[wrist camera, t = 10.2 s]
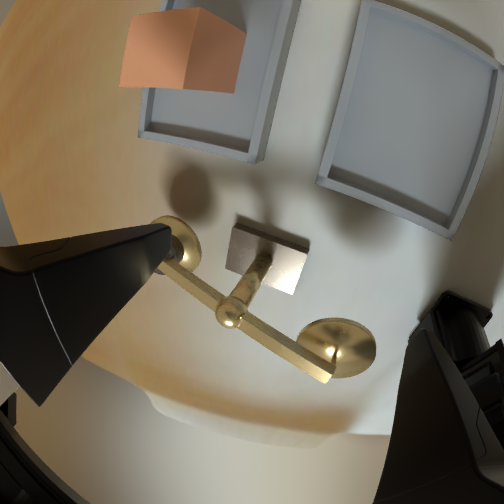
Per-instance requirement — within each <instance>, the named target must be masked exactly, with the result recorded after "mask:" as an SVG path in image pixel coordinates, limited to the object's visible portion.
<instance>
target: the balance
mask: <svg viewBox="0 0 504 504" xmlns="http://www.w3.org/2000/svg"><path fill="white" fill-rule="evenodd" d="M155 223H163V224H166V225H168V226H170V227H171V229H172V236H171V249H170V251H169V253H168V255H167V256H166V257H165V258H164V260H163V261H162V262H161V264H160V265H159V266H158V267H157V269H156V270H155V271H154V272H155V273H157V274H160V275H167V276H168V277H169V278H171V279H172V280H173V281H174V282H176V283H177V284H178V285H180V286H181V287H182V288H183V289H185V290H186V291H187V292H189V293H190V294H191V295H193V296H194V297H195V298H197V299H198V300H199V301H201V302H202V303H203V304H205V305H206V306H207V307H209V308H210V309H212V310H213V311H214V312H215V315H216V319H217V321H218V322H219V323H220V324H221V325H222V326H224V327H226V328H231V329H233V328H238V329H240V330H241V331H243V332H244V333H245V334H247V335H248V336H250V337H251V338H253V339H254V340H256V341H257V342H259V343H260V344H262V345H263V346H265V347H266V348H268V349H269V350H271V351H272V352H274V353H275V354H277V355H279V356H280V357H282V358H283V359H285V360H286V361H288V362H290V363H291V364H293V365H294V366H296V367H298V368H299V369H301V370H302V371H304V372H306V373H307V374H309V375H311V376H312V377H314V378H316V379H317V380H319V381H321V382H322V383H324V384H325V383H326V382H327V381H328V380H329V378H346V377H351V376H355V375H358V374H360V373H362V372H363V371H365V370H366V369H368V368H369V367H370V366H371V364H372V363H373V361H374V359H375V356H376V341H375V338H374V336H373V335H372V333H371V332H370V331H369V330H368V329H367V328H366V327H365V326H363V325H361V324H360V323H358V322H355V321H352V320H349V319H344V318H325V319H320V320H317V321H314V322H312V323H310V324H308V325H307V326H306V327H304V328H303V329H302V330H301V332H300V333H299V335H298V337H297V340H296V342H295V341H293V340H292V339H290V338H289V337H287V336H285V335H284V334H282V333H281V332H279V331H277V330H276V329H274V328H273V327H271V326H270V325H268V324H266V323H265V322H263V321H262V320H260V319H259V318H257V317H256V316H254V315H253V314H251V313H250V312H248V306H249V305H250V303H251V301H252V299H253V298H254V296H255V294H256V292H257V291H258V289H259V287H260V285H261V284H262V283H264V284H266V285H269V286H271V287H274V288H276V289H279V290H282V291H284V292H287V293H289V294H293V291H294V289H295V286H296V284H297V281H298V279H299V276H300V273H301V271H302V268H303V265H304V263H305V260H306V257H307V255H308V252H309V249H307V248H304V247H301V246H298V245H296V244H293V243H290V242H288V241H285V240H282V239H279V238H277V237H274V236H271V235H268V234H266V233H263V232H260V231H257V230H254V229H252V228H249V227H246V226H243V225H240V224H238V223H237V224H235V225H234V226H233V228H232V234H231V239H230V245H229V250H228V256H227V261H226V267H225V268H226V269H228V270H231V271H233V272H236V273H238V274H241V275H243V276H242V278H241V279H240V281H239V282H238V284H237V285H236V287H235V288H234V289H233V291H232V292H231V294H230V295H229V296H227V297H226V296H224V295H223V294H221V293H220V292H218V291H217V290H215V289H214V288H213V287H211V286H210V285H208V284H207V283H205V282H204V281H203V280H201V279H200V278H198V277H197V276H195V275H194V274H193V273H192V272H193V271H194V270H195V269H196V268H197V267H198V265H199V263H200V261H201V254H202V252H201V246H200V242H199V240H198V238H197V236H196V234H195V233H194V231H193V230H192V229H191V227H190V226H189V225H188V224H186V223H185V222H184V221H182V220H181V219H179V218H177V217H174V216H169V215H166V216H161V217H159V218H157V219H155V220H154V221H152V222H151V223H150V224H155Z"/></svg>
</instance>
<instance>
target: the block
mask: <svg viewBox="0 0 504 504" xmlns="http://www.w3.org/2000/svg"><path fill="white" fill-rule="evenodd" d="M246 36H247V34H246V33H245V32H243V31H241V30H240V29H238V28H237V27H235V26H233V25H232V24H230V23H228V22H227V21H225V20H223V19H221V18H220V17H218V16H216V15H214V14H213V13H211V12H209V11H207V10H205V9H203V8H201V7H194V8H183V9H174V10H167V11H160V12H154V13H148V14H143V15H138V16H133V17H132V20H131V24H130V29H129V33H128V38H127V42H126V47H125V53H124V58H123V64H122V71H121V77H120V85H119V87H152V88H172V89H187V90H202V91H214V92H223V93H232V94H234V91H235V86H236V81H237V77H238V72H239V67H240V63H241V58H242V54H243V49H244V45H245V40H246Z"/></svg>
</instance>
